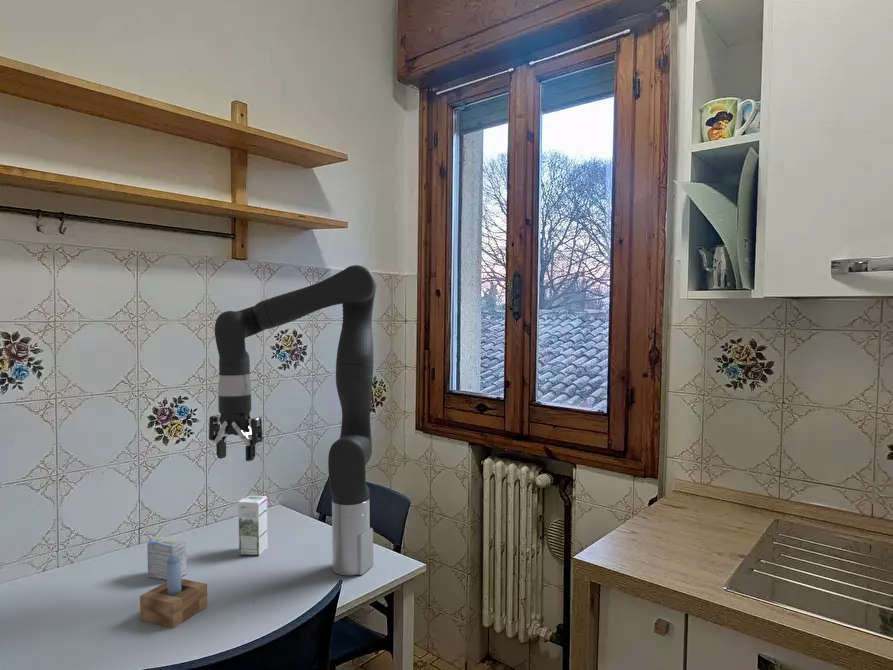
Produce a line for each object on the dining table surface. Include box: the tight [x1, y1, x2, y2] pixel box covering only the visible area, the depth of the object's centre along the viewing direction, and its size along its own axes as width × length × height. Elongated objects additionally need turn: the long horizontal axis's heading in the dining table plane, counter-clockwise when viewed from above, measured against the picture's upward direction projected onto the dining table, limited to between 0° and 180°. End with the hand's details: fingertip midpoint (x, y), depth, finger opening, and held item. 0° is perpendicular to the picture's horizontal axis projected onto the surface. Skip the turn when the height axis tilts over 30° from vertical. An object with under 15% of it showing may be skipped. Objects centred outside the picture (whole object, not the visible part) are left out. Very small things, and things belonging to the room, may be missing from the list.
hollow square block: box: [139, 578, 208, 629], centre depth 118 cm, size 9×9×5 cm
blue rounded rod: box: [166, 555, 182, 596], centre depth 118 cm, size 3×3×12 cm
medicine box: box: [146, 535, 187, 581], centre depth 136 cm, size 8×4×9 cm, turn 71°
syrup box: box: [237, 495, 269, 556], centre depth 150 cm, size 6×6×14 cm
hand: (235, 459), depth 136 cm, fingers open, 8 cm apart
